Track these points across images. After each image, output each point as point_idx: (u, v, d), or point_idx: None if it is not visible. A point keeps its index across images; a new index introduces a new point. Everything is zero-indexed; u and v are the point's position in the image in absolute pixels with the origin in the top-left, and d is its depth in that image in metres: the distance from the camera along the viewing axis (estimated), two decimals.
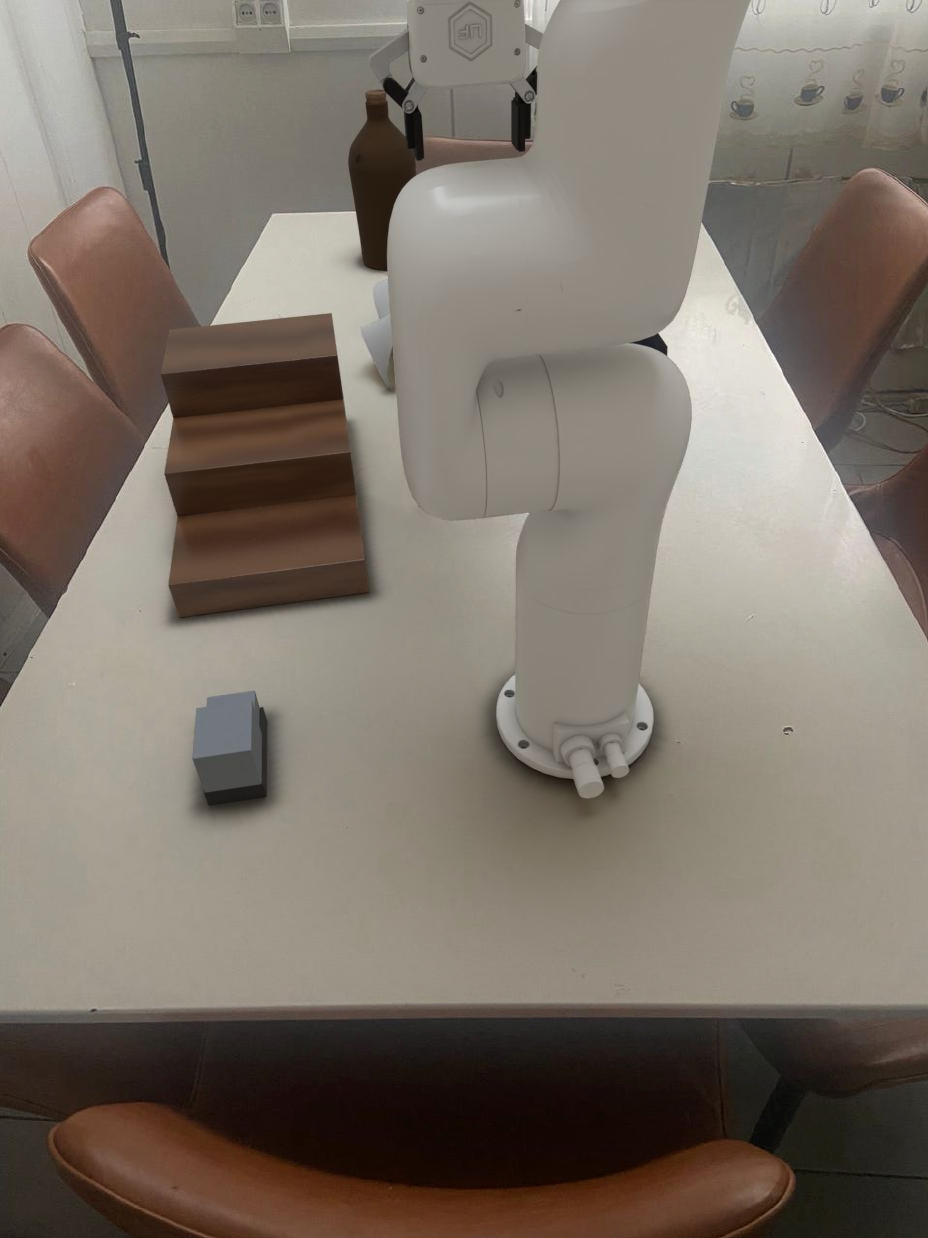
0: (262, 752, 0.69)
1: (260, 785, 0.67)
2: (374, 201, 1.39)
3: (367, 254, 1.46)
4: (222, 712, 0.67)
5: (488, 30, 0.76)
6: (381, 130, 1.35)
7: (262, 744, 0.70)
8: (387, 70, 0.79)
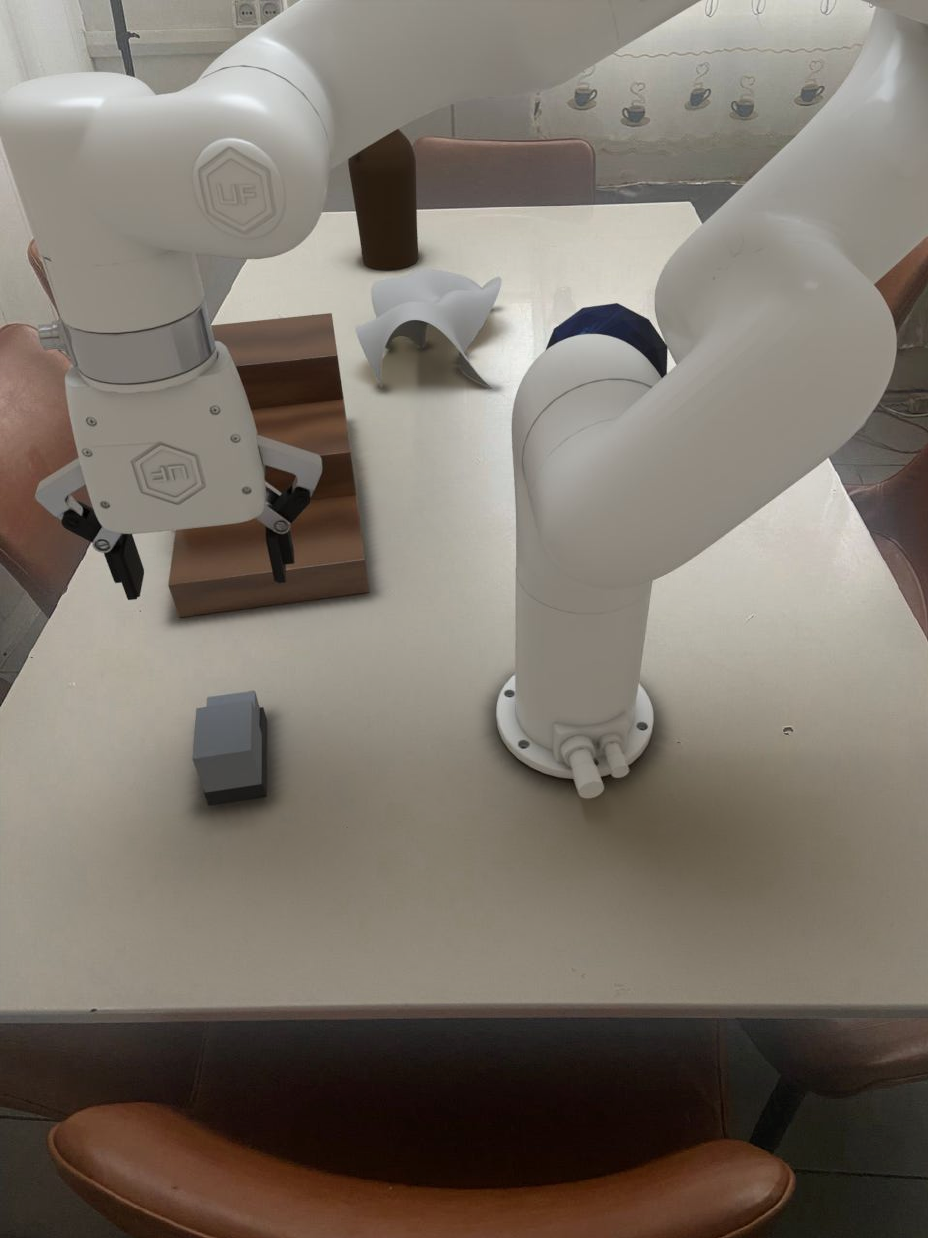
0: (262, 752, 0.69)
1: (260, 785, 0.67)
2: (374, 201, 1.39)
3: (367, 254, 1.46)
4: (222, 712, 0.67)
5: (196, 471, 0.52)
6: None
7: (262, 744, 0.70)
8: (64, 505, 0.54)
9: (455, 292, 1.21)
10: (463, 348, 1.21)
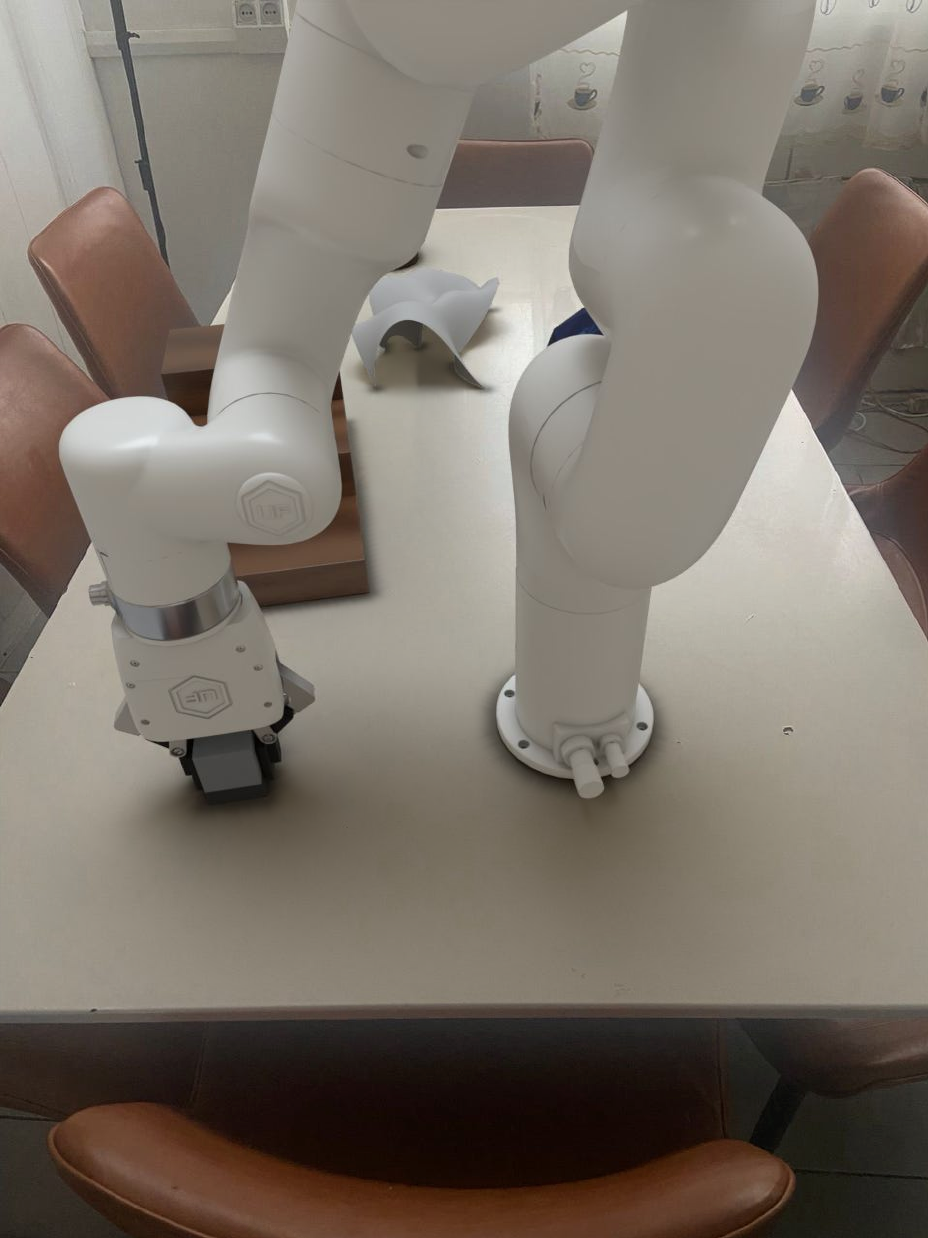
0: None
1: (260, 785, 0.67)
2: None
3: None
4: None
5: (224, 694, 0.60)
6: None
7: None
8: None
9: (451, 292, 1.21)
10: (459, 348, 1.21)
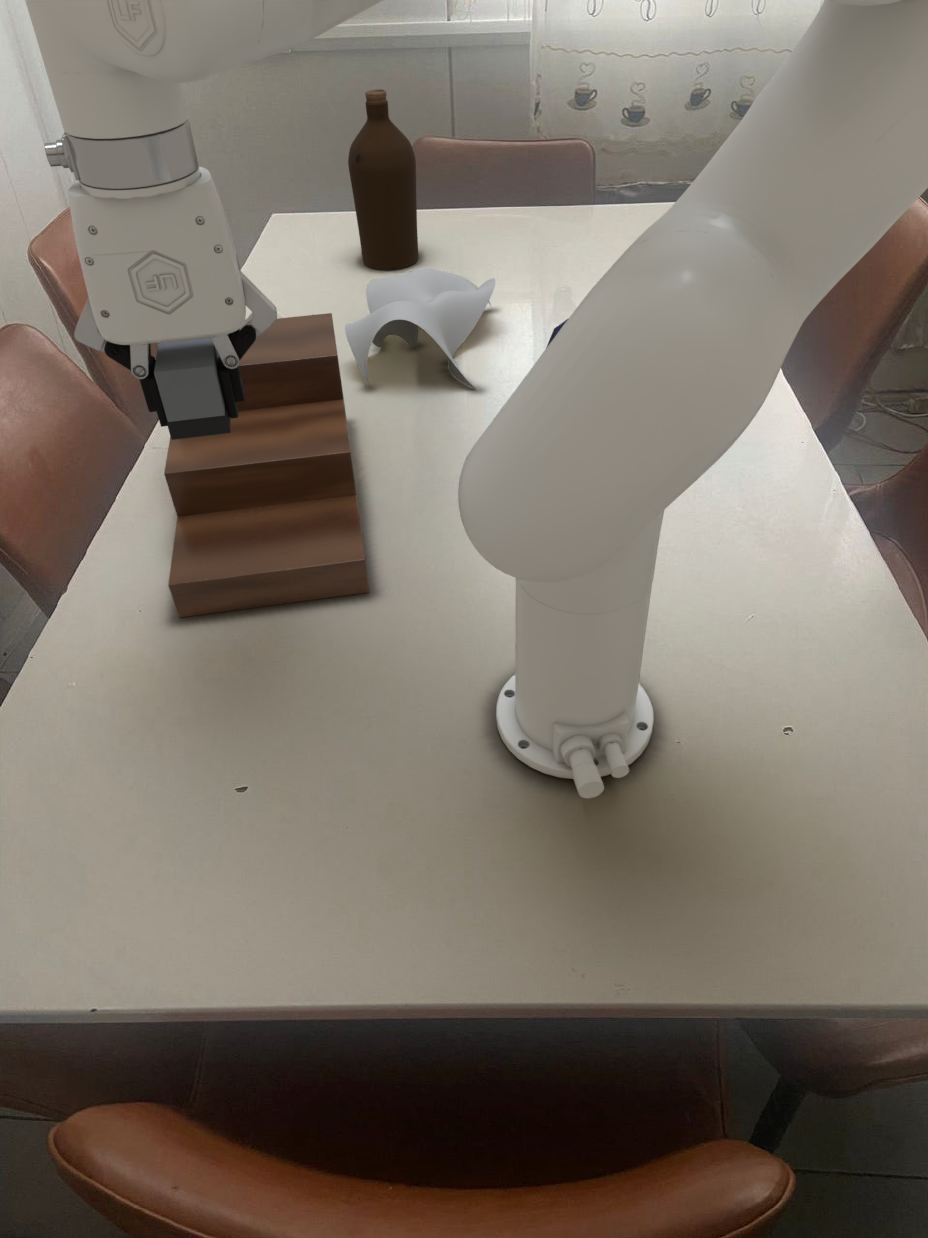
0: None
1: (223, 417, 0.67)
2: (374, 201, 1.39)
3: (367, 254, 1.46)
4: (184, 344, 0.67)
5: (185, 280, 0.59)
6: (381, 130, 1.35)
7: None
8: (99, 336, 0.63)
9: (447, 292, 1.21)
10: (453, 349, 1.21)
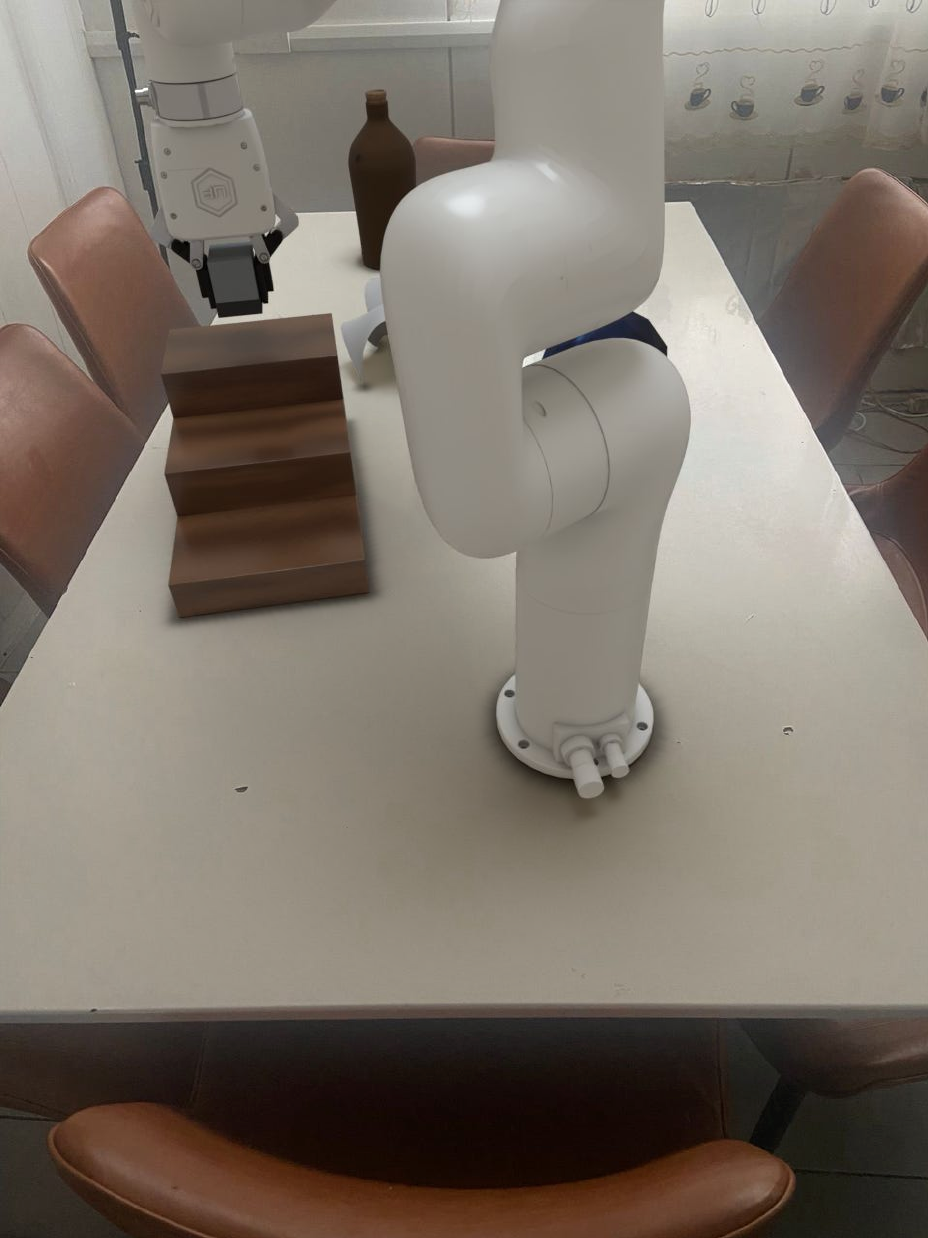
0: None
1: (257, 300, 0.89)
2: (374, 201, 1.39)
3: (367, 254, 1.46)
4: (229, 245, 0.89)
5: (232, 191, 0.81)
6: (381, 130, 1.35)
7: None
8: (167, 236, 0.85)
9: None
10: None
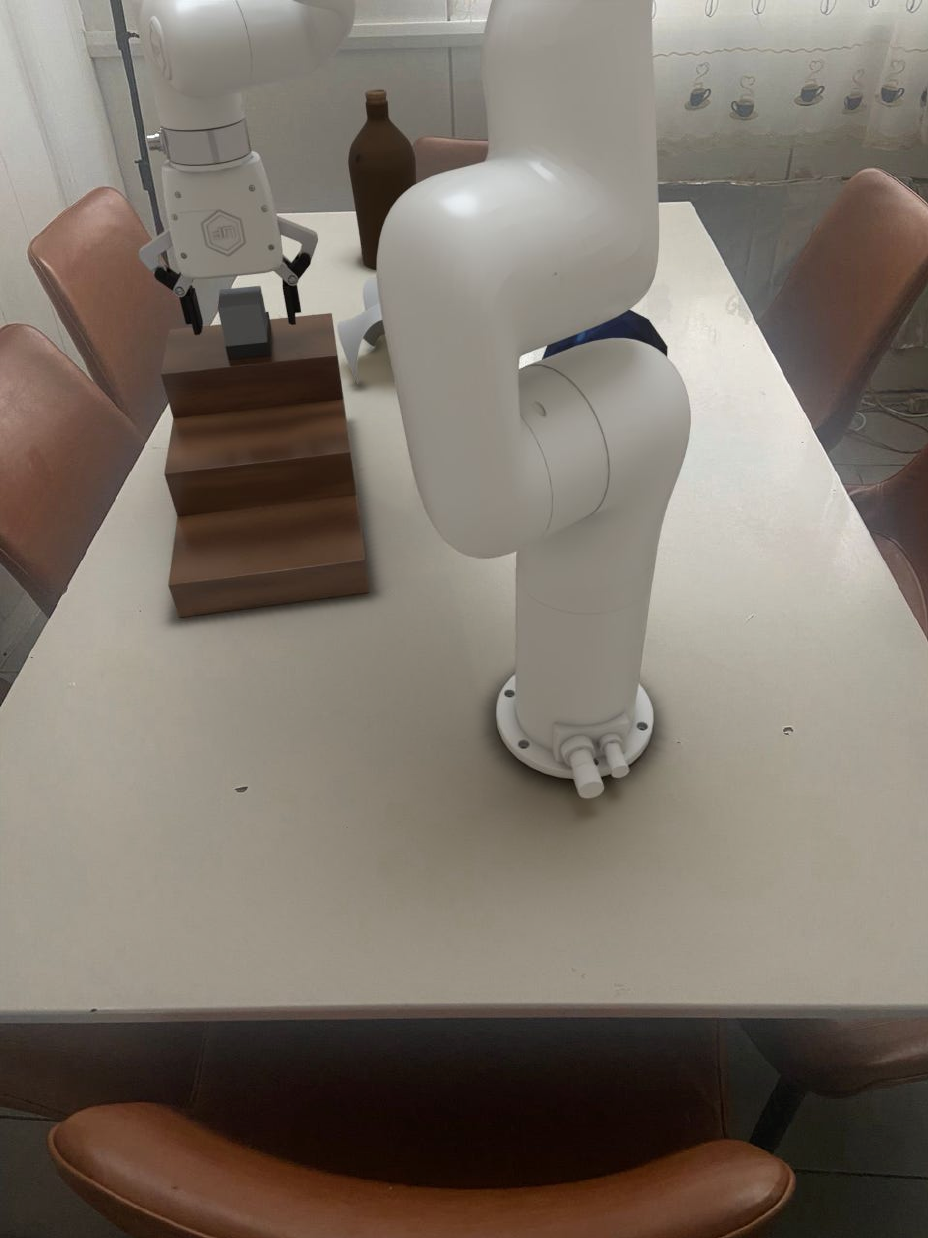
0: (267, 329, 0.94)
1: (266, 343, 0.92)
2: (374, 201, 1.39)
3: (367, 254, 1.46)
4: (238, 290, 0.92)
5: (240, 231, 0.84)
6: (381, 130, 1.35)
7: (267, 326, 0.94)
8: (156, 262, 0.86)
9: None
10: None
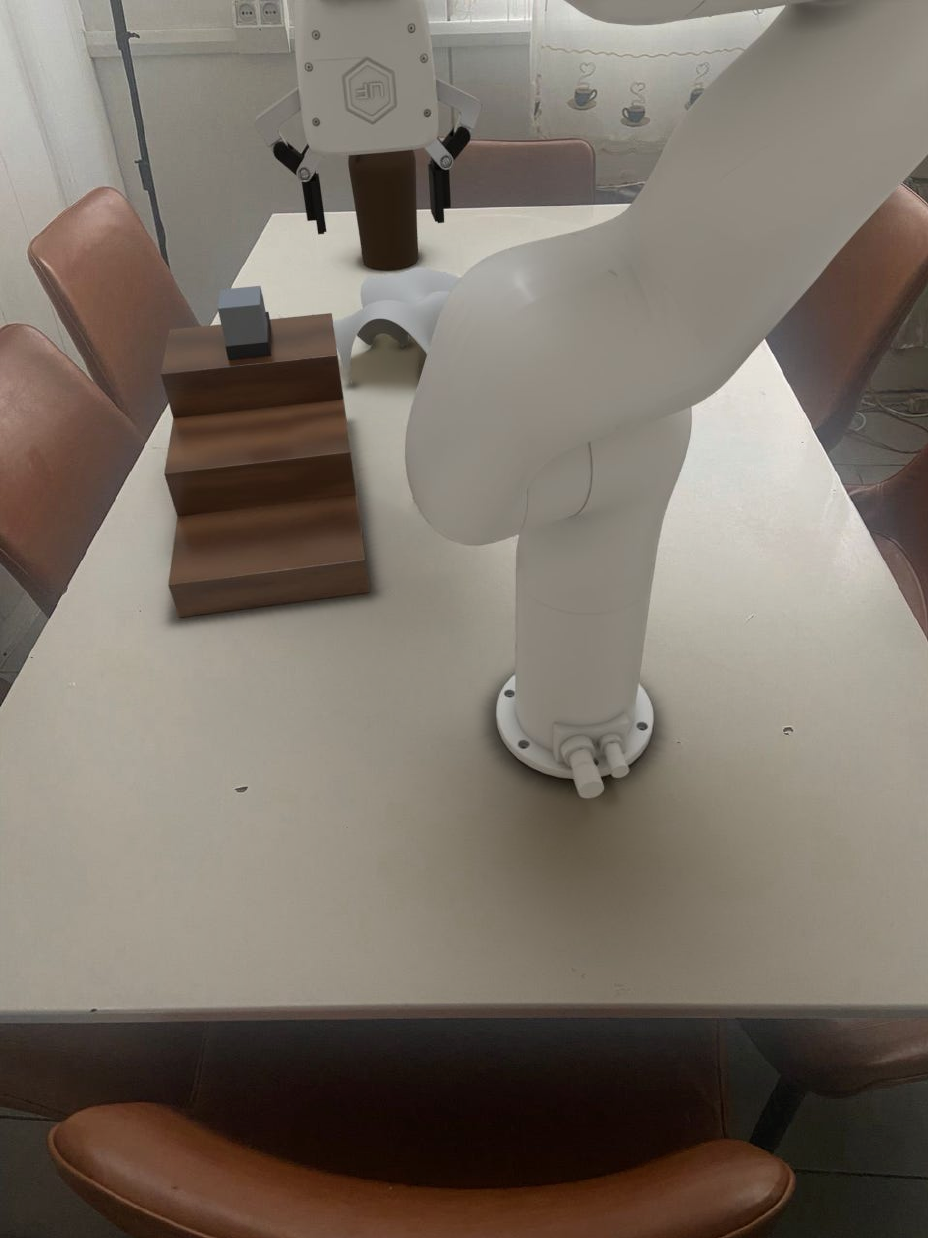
0: (267, 329, 0.94)
1: (266, 343, 0.92)
2: (374, 201, 1.39)
3: (367, 254, 1.46)
4: (238, 290, 0.92)
5: (391, 89, 0.65)
6: None
7: (267, 326, 0.94)
8: (277, 133, 0.67)
9: (437, 293, 1.21)
10: None
